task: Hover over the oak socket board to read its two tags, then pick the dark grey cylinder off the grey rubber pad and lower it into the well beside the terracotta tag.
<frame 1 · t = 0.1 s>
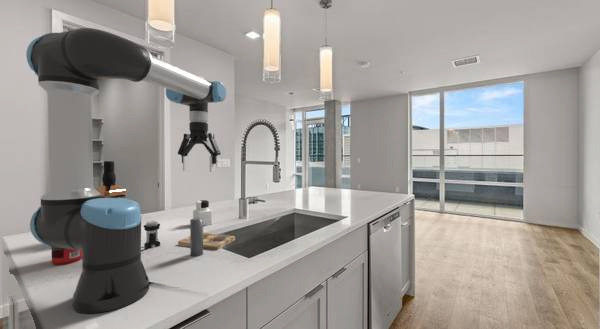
hand: (198, 171, 115), 28 cm above the worktop, fingers open, 13 cm apart
socket board: (207, 244, 102), on the worktop
deck pad: (196, 257, 89), on the worktop
whiskey bottle: (109, 236, 113), on the worktop
dark grey cylinder: (196, 254, 89), point 1 cm above the worktop, touching deck pad
canned food: (68, 261, 86), on the worktop
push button: (150, 250, 96), on the worktop
medicine bottle: (202, 224, 134), on the worktop
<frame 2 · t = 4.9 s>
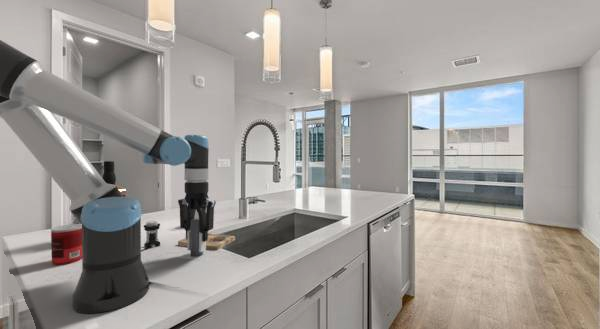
hand: (196, 249, 89), 3 cm above the worktop, fingers closed on dark grey cylinder, 4 cm apart
dark grey cylinder: (196, 254, 89), point 1 cm above the worktop, touching deck pad, gripper
everything else where it was.
when the fingers open (3 cm above the worktop, at t = 9.5 s): dark grey cylinder stays where it is, resting in socket board.
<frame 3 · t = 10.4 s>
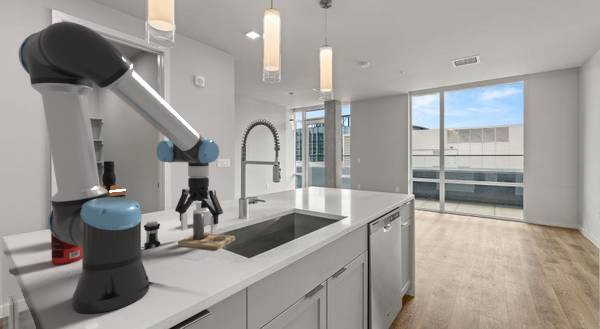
hand: (198, 231, 103), 5 cm above the worktop, fingers open, 13 cm apart
dark grey cylinder: (198, 243, 103), resting in socket board
everything else where it was.
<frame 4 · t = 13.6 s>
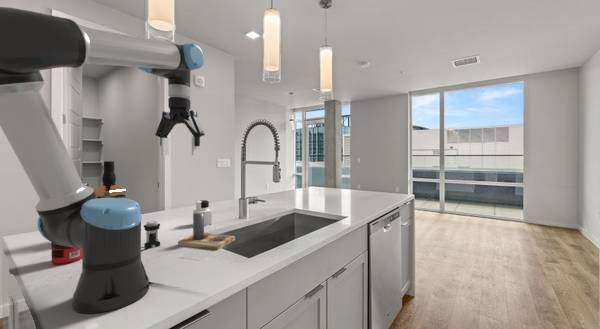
hand: (179, 155, 99), 35 cm above the worktop, fingers open, 13 cm apart
nothing on the worktop moved.
at the end: dark grey cylinder 0.0 cm from the target spot on the socket board, point 0.0 cm above the socket board's base; the gripper is holding nothing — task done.
